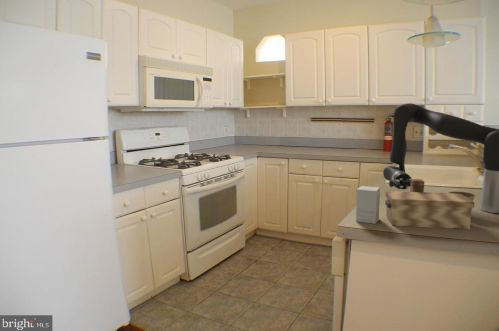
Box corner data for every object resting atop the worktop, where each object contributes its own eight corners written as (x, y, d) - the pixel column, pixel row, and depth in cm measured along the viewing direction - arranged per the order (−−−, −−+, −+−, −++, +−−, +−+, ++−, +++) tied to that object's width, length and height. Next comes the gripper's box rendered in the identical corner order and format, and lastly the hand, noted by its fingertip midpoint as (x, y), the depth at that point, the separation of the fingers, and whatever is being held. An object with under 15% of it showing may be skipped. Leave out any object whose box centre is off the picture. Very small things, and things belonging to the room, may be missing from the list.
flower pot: (460, 219, 139) (462, 197, 137) (440, 213, 148) (442, 192, 146) (479, 217, 141) (481, 195, 140) (459, 211, 150) (461, 190, 149)
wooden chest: (452, 213, 147) (454, 189, 145) (474, 229, 127) (476, 202, 125) (379, 210, 152) (380, 186, 151) (388, 225, 132) (390, 199, 130)
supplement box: (379, 219, 140) (381, 187, 138) (375, 224, 134) (376, 191, 132) (360, 216, 144) (361, 185, 142) (355, 221, 137) (356, 189, 135)
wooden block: (419, 213, 148) (421, 179, 145) (422, 215, 144) (424, 181, 141) (408, 212, 148) (410, 179, 146) (411, 215, 144) (413, 181, 142)
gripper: (386, 171, 172) (392, 178, 156) (418, 172, 169) (428, 179, 153) (385, 186, 173) (391, 194, 157) (416, 188, 170) (426, 196, 154)
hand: (409, 187), depth 155 cm, fingers open, 8 cm apart
